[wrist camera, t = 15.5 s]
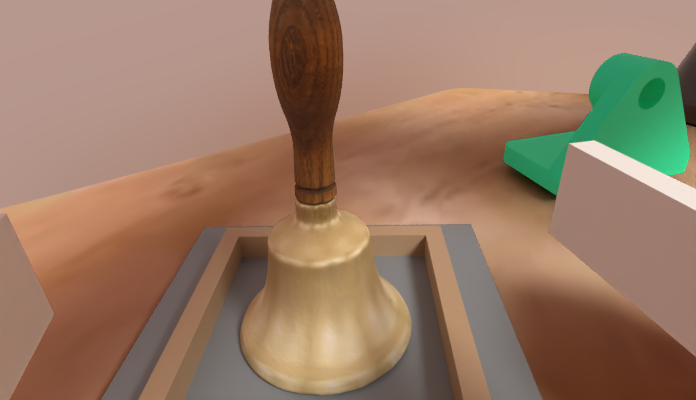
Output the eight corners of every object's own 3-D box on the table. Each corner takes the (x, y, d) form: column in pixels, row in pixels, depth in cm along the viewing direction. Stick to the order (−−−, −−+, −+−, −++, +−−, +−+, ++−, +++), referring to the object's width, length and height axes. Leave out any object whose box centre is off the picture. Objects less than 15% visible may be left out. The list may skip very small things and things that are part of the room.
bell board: (469, 236, 29) (473, 204, 28) (593, 560, 13) (615, 518, 12) (207, 239, 30) (200, 207, 29) (33, 547, 14) (1, 506, 13)
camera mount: (605, 151, 42) (636, 38, 37) (679, 184, 35) (729, 53, 30) (496, 169, 39) (514, 50, 34) (555, 209, 32) (588, 69, 27)
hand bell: (233, 289, 24) (165, -46, 16) (375, 258, 26) (375, -52, 18) (250, 423, 17) (141, -56, 9) (442, 366, 19) (490, -64, 11)
